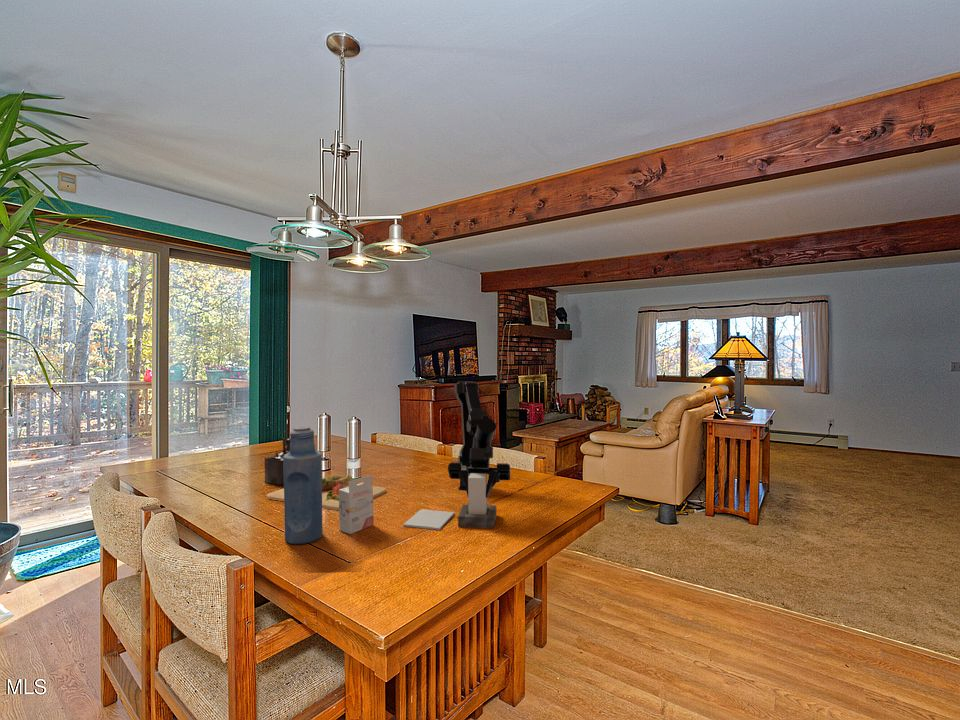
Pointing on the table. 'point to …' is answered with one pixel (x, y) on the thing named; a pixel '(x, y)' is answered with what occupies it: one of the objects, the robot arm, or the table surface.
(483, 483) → the off-white block
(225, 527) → the table surface
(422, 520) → the rubber mat
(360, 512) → the ink cartridge box
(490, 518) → the block
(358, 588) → the table surface
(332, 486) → the cutting board
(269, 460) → the black box
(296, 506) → the bottle
